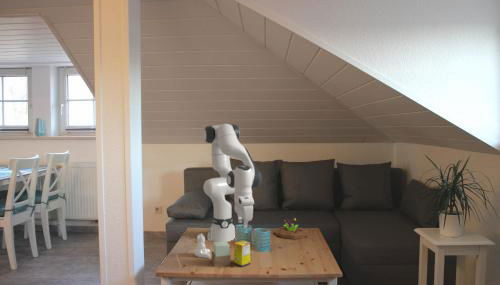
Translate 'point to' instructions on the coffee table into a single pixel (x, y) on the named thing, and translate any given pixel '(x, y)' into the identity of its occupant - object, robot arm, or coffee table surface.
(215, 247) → the sage block
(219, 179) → the robot arm
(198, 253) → the white creature statuette
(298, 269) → the coffee table surface
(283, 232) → the plant
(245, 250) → the supplement box
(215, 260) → the walnut block
